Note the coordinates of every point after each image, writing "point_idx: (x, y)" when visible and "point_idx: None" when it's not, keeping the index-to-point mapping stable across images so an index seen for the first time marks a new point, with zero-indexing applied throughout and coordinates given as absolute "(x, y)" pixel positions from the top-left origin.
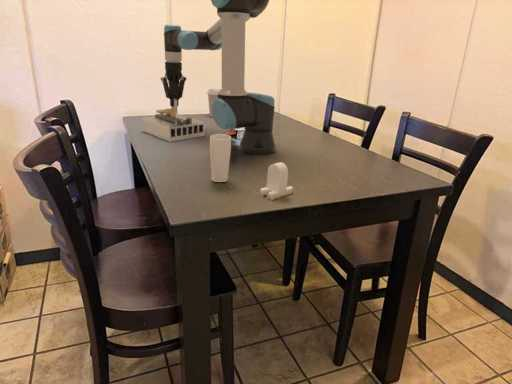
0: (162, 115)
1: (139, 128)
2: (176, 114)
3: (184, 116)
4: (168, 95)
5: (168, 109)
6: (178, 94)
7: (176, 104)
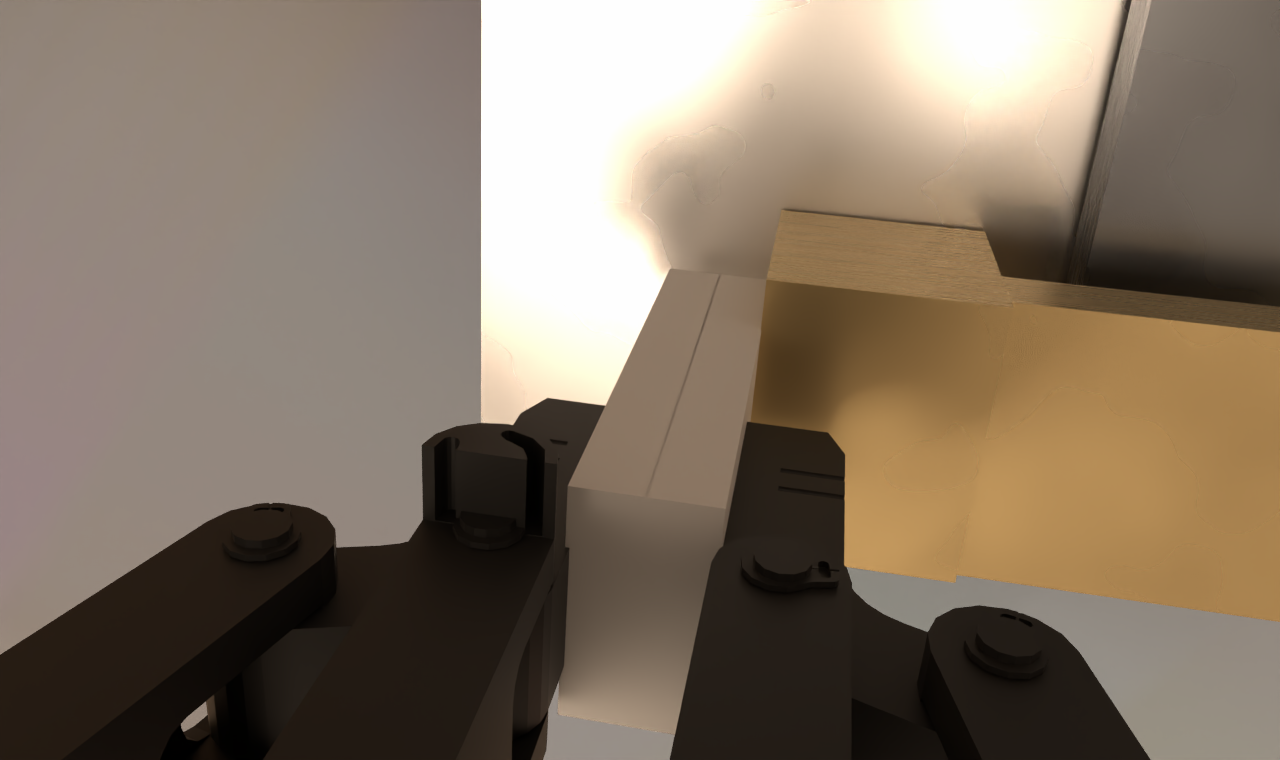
0: None
1: (1275, 695)
2: None
3: (514, 105)
4: (1137, 754)
5: (943, 458)
6: (380, 637)
7: (651, 396)
